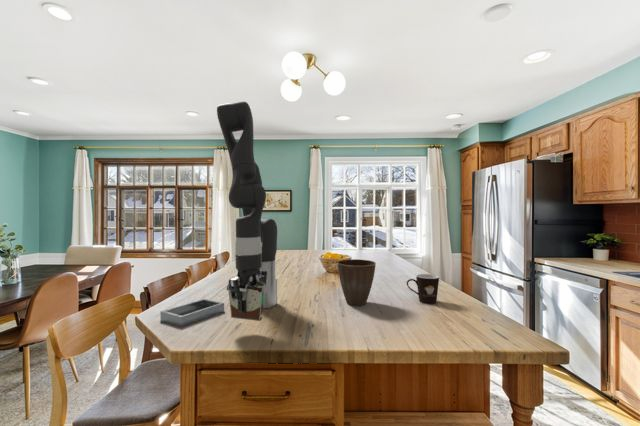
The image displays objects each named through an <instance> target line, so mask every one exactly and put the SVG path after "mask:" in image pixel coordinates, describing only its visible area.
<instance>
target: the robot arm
mask: <svg viewBox="0 0 640 426" xmlns="http://www.w3.org/2000/svg"><path fill="white" fill-rule="evenodd" d="M216 116H217V120H218V124H219V127H220V129H221V132H222V136H223V140H224V143H225V144H226V148H227V152H228V156H229V160H230V165H231V171H232V180H231V186H230V188H229V191H228V192H229V194H228V201H229V204H230V206H231V207H232V208H234V209H241V210H242V216H240V217H237V218H236V220H235V247H234V249H235V250H234V251H235V255H234V256H235V257H234V258H235V269H236V270H237V274H236V277H234V278H229V279H228V283H229V286H230V292H231V298H232V299H236V300H238V311H239V313H243V314H244V313H246V300H245V299H246V295H247V292H249V287H250V286H253V285H259V284H260V281H262V282H264V283H265V285H266V289H267V291H266V293H264V303H263V309H270V308H273V307H275V306H276V304H277V303H278V279H277V278H276V256H277V255H276V254H277V249H278V245H277V244H278V225H277V223H276V221H275V220H274V219H273V218H262V214H263V211H264V207H265V203H266V199H267V193H266V190H265V187H264V186H263V179H262V176H261V171H260V168H259V166H258V164H257V163H256V161H255V154H254V118H253V113H252V109H251V108H250V105H249V103H248V102H246V101H241V100H240V101H235V102H228V103H221V104H218V106H217V107H216ZM240 131H242V133H241V135H240V138H239V139H238V141H237V140H236V138H235V135H234V133H236V132H240ZM240 286H242V287H245V289H242V288H240ZM242 291H243V294H242V296H241V292H242ZM235 293H236V294H235Z"/></svg>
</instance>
